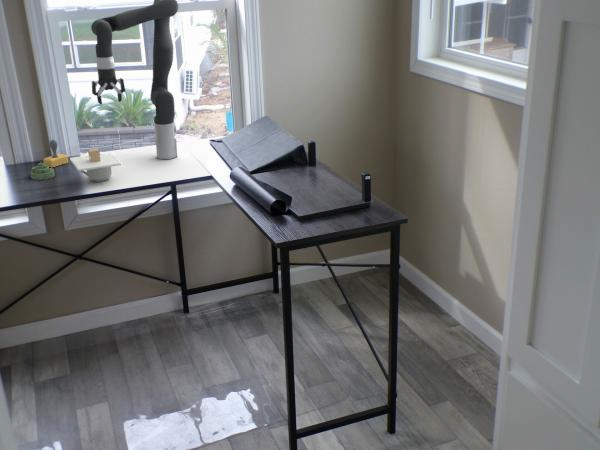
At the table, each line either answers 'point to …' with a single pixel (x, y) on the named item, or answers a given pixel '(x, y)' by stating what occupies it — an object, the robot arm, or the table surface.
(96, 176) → the teacup
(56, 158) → the rubber stamp
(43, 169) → the decorative artifact
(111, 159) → the square lid with knob
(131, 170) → the table surface
